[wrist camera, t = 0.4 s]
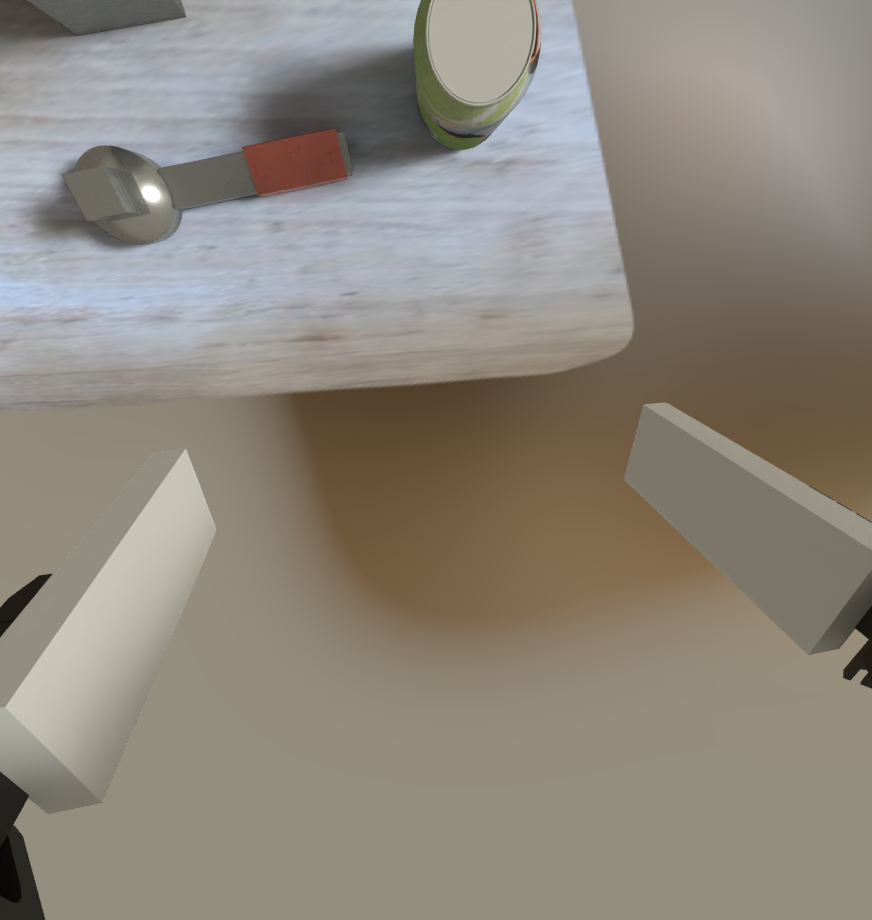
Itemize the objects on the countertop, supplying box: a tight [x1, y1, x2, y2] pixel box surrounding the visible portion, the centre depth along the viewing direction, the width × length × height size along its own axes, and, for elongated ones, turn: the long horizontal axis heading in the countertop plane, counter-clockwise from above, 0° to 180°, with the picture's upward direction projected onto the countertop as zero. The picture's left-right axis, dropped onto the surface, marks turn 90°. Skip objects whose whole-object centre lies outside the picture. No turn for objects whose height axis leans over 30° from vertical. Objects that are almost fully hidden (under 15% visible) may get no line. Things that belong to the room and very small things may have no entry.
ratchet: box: [62, 129, 354, 243], centre depth 26 cm, size 5×17×6 cm, turn 101°
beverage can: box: [413, 0, 541, 150], centre depth 23 cm, size 6×7×12 cm
